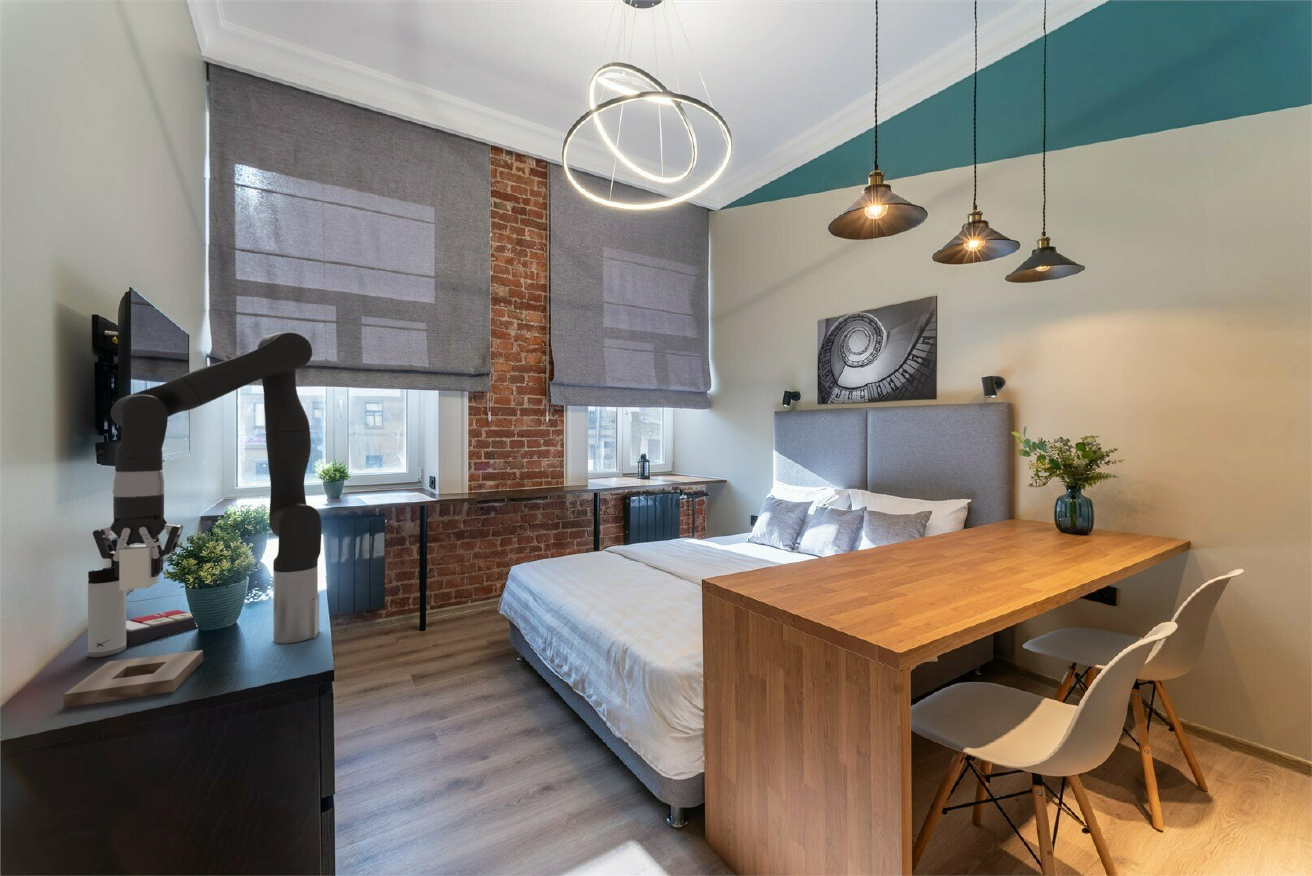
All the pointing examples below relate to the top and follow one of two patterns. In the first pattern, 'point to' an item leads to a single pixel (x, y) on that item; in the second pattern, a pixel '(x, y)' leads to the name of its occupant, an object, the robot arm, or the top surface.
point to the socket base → (134, 678)
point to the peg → (135, 568)
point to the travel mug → (105, 614)
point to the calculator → (157, 626)
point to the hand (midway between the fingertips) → (139, 576)
